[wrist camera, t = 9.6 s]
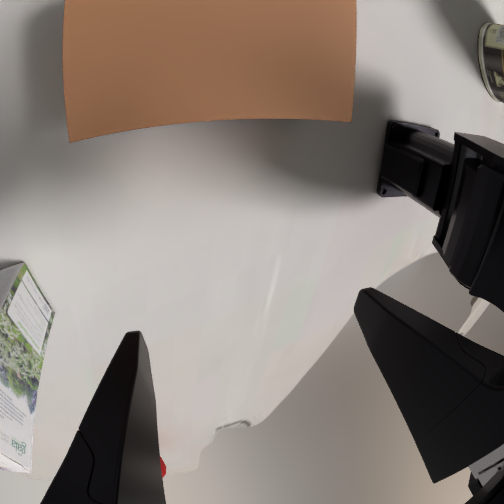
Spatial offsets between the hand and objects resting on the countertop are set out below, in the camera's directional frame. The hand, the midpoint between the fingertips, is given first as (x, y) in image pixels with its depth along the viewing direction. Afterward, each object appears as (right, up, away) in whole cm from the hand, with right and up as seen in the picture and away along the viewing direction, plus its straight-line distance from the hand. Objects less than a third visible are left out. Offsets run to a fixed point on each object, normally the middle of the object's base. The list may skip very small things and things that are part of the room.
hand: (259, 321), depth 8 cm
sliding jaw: (-3, +13, +4) cm, 14 cm away
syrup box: (-20, -1, +10) cm, 22 cm away
